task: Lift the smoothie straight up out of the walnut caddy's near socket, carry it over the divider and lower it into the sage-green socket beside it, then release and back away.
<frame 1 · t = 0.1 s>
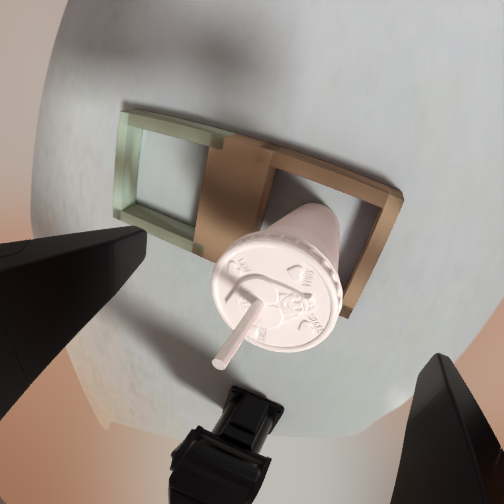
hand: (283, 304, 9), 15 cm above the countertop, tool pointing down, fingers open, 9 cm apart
smoothie: (315, 226, 23), resting in caddy
caddy: (238, 199, 24), on the countertop
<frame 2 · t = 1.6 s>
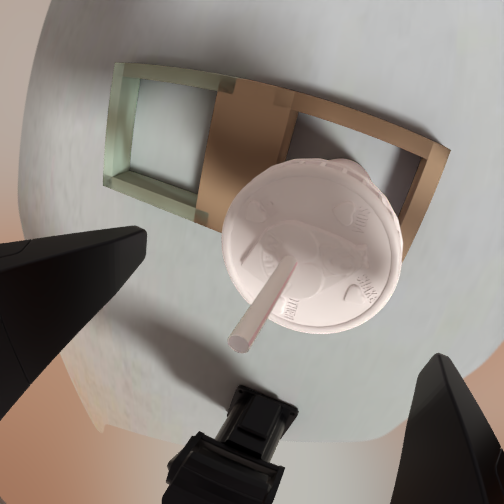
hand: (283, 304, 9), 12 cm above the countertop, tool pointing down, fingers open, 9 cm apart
smoothie: (342, 187, 19), resting in caddy
caddy: (251, 156, 20), on the countertop
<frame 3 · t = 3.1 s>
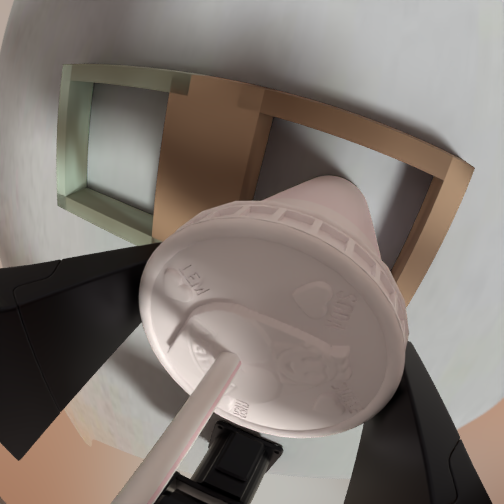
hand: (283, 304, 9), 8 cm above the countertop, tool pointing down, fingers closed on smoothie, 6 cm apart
smoothie: (330, 212, 15), resting in caddy, touching gripper
caddy: (216, 173, 16), on the countertop
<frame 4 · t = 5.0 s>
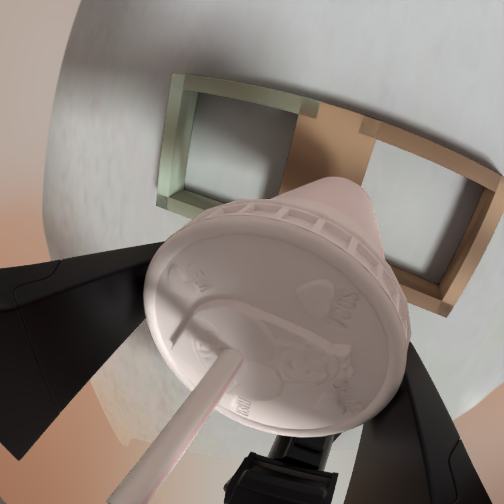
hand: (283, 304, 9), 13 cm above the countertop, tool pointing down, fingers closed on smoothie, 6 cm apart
smoothie: (336, 214, 15), point 5 cm above the countertop, touching gripper
caddy: (324, 181, 20), on the countertop
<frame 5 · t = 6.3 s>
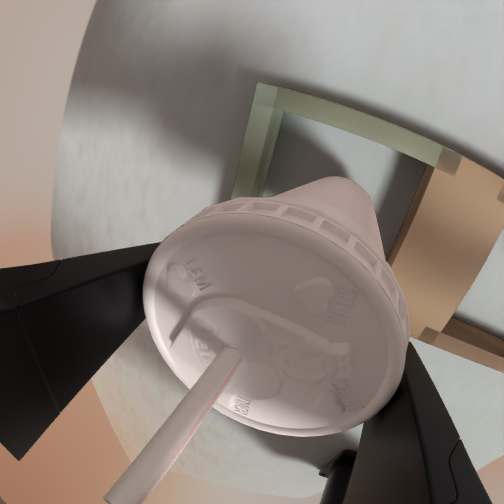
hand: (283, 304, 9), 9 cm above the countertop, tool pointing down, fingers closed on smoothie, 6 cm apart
smoothie: (337, 213, 15), point 2 cm above the countertop, touching gripper
caddy: (436, 242, 15), on the countertop
when the fingers open (9 cm above the countertop, at t = 7.4 s): smoothie drops 1 cm, resting in caddy.
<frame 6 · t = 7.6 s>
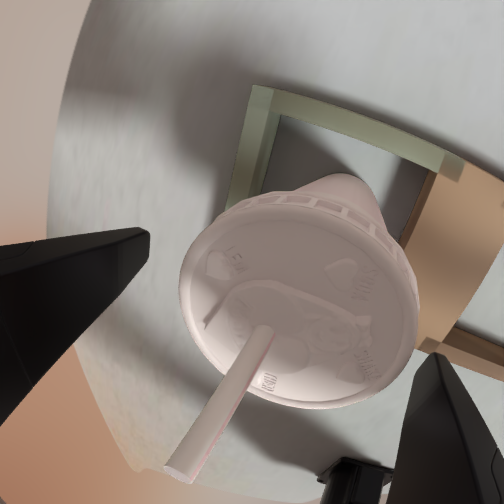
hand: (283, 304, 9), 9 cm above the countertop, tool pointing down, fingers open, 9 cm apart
smoothie: (342, 208, 16), resting in caddy
caddy: (438, 250, 15), on the countertop
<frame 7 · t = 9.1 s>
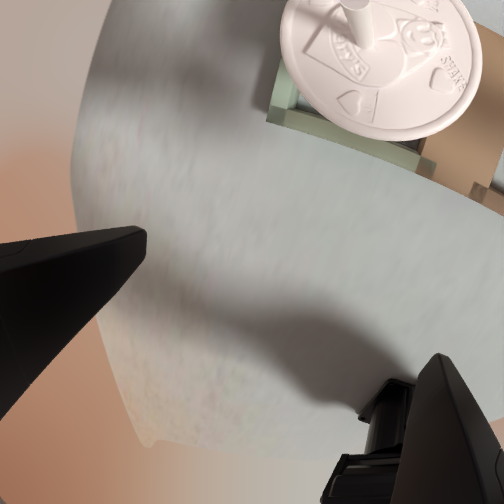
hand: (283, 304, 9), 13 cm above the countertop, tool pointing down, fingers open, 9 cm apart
smoothie: (380, 71, 15), resting in caddy
caddy: (467, 107, 14), on the countertop
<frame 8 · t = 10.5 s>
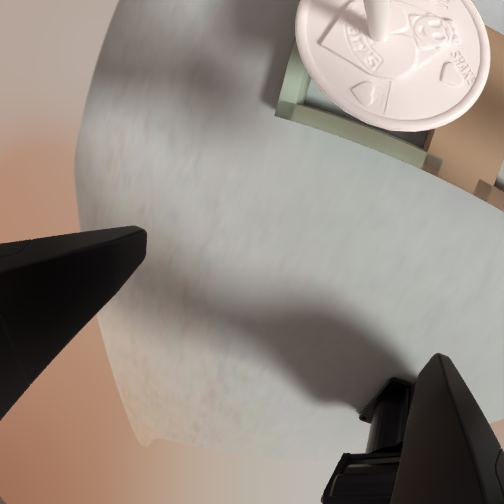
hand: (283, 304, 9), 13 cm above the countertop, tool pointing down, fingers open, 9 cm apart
smoothie: (388, 69, 15), resting in caddy
caddy: (473, 106, 14), on the countertop
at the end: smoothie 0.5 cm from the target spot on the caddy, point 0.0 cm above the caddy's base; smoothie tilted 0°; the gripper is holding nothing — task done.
